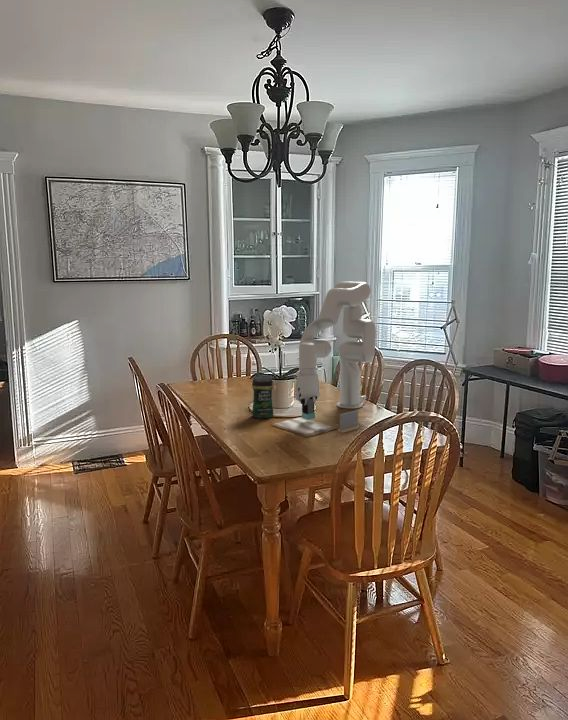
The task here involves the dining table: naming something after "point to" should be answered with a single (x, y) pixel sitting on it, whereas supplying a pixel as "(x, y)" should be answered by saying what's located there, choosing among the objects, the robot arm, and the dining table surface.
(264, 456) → the dining table surface
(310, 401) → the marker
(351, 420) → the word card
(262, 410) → the coffee jar
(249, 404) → the dining table surface
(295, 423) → the white flat pad
